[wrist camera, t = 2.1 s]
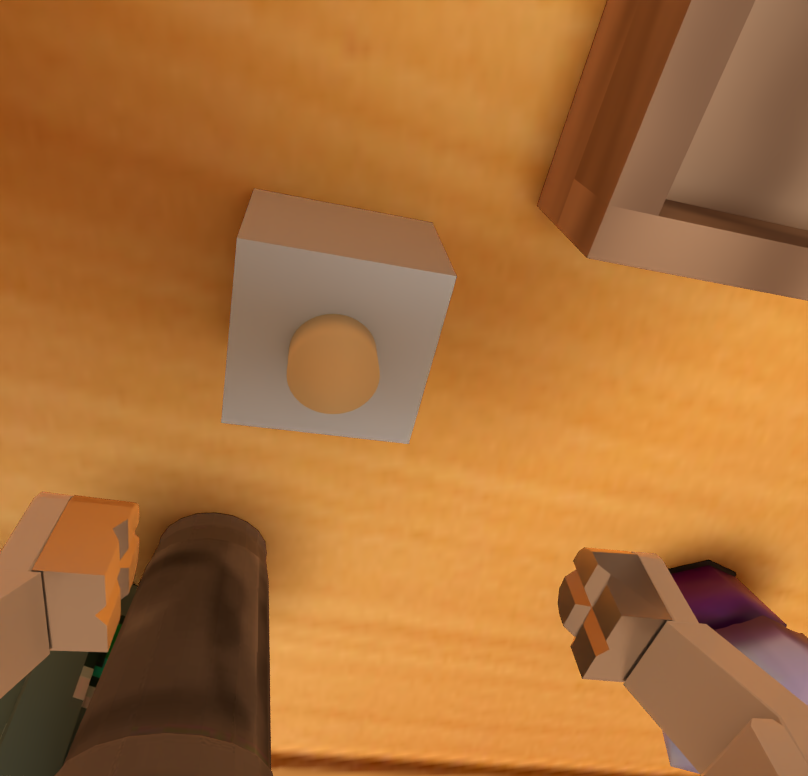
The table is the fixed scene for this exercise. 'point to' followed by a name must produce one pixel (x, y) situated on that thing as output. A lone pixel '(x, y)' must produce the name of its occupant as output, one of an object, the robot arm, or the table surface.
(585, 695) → the table surface
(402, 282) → the lid
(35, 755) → the can
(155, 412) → the table surface
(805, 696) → the potion bottle
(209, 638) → the beverage cup
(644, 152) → the box
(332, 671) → the table surface
